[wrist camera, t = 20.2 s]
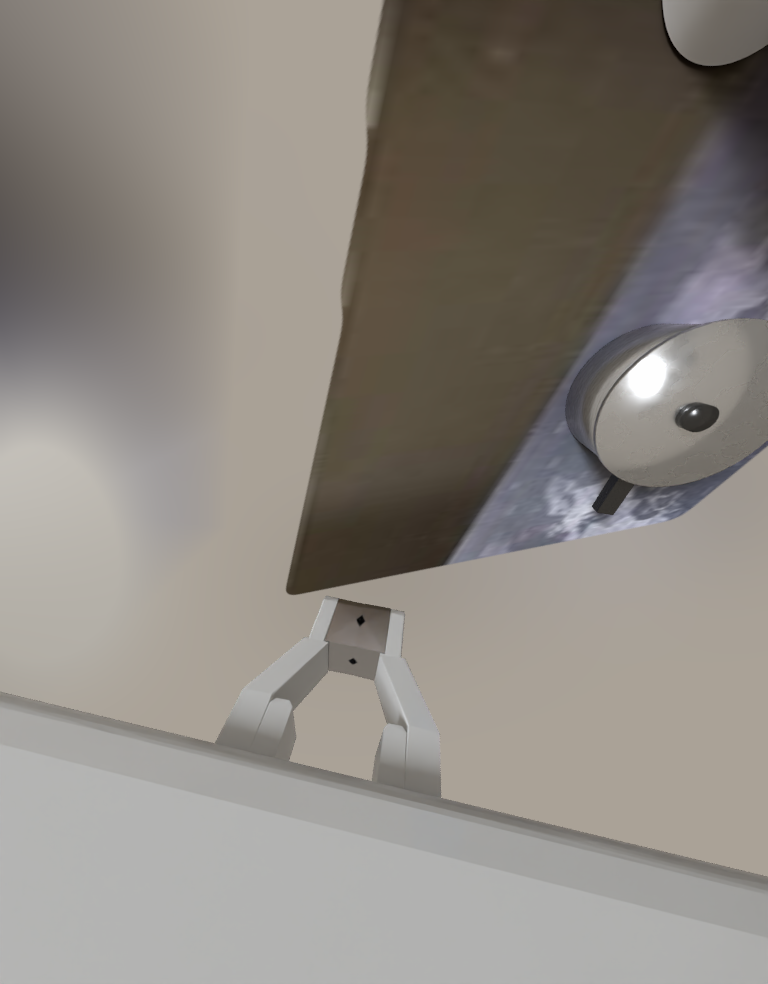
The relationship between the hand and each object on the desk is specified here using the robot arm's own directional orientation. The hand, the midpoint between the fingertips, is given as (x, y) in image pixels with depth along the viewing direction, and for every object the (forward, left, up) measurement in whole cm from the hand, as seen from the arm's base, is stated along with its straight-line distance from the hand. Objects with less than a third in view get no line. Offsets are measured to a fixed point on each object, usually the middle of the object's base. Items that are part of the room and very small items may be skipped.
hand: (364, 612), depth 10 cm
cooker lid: (-4, +32, -31) cm, 45 cm away
